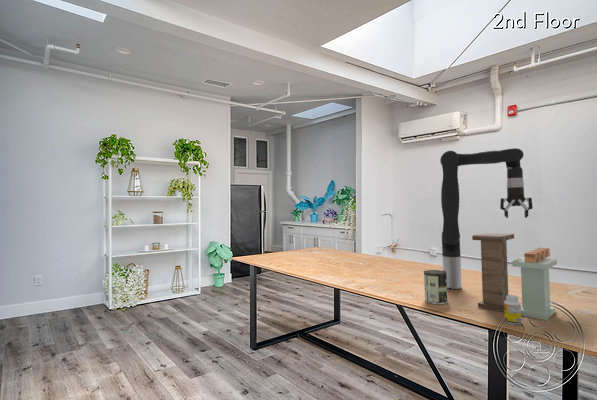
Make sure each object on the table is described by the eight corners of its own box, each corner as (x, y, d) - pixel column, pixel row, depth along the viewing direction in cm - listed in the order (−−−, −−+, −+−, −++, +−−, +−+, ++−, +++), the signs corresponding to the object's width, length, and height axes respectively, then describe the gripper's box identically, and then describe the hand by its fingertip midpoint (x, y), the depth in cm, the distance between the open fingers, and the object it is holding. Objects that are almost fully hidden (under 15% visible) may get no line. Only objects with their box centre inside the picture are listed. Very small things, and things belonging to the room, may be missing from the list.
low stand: (549, 321, 135) (546, 264, 135) (514, 314, 144) (512, 261, 144) (558, 312, 146) (556, 259, 146) (525, 306, 154) (523, 256, 155)
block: (534, 262, 139) (534, 254, 139) (524, 262, 142) (524, 253, 142) (549, 255, 155) (549, 248, 155) (540, 255, 158) (540, 247, 158)
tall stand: (504, 313, 146) (501, 236, 147) (474, 307, 155) (472, 235, 156) (516, 305, 157) (514, 233, 158) (488, 300, 166) (485, 232, 166)
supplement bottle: (506, 319, 138) (505, 293, 138) (522, 322, 135) (521, 295, 135) (503, 323, 134) (502, 296, 134) (520, 326, 130) (519, 298, 131)
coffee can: (444, 298, 170) (443, 269, 171) (450, 304, 160) (449, 274, 160) (422, 298, 172) (421, 269, 172) (426, 304, 162) (425, 273, 162)
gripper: (500, 187, 183) (502, 218, 182) (533, 185, 177) (534, 217, 177) (498, 187, 190) (499, 217, 189) (529, 186, 184) (530, 217, 184)
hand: (516, 217), depth 183 cm, fingers open, 8 cm apart
